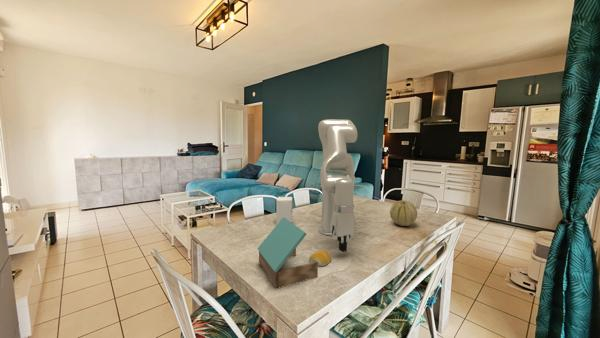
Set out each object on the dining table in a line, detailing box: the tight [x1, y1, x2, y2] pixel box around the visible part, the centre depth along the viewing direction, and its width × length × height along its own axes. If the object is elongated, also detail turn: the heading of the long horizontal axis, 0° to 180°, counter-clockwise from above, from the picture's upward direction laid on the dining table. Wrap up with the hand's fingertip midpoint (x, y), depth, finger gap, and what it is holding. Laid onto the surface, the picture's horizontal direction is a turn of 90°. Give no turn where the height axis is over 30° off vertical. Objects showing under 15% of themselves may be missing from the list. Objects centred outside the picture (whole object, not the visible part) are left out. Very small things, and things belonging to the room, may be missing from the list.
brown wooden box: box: [258, 247, 319, 289], centre depth 93 cm, size 16×19×6 cm
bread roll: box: [308, 250, 332, 267], centre depth 100 cm, size 8×9×4 cm
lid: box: [257, 217, 307, 273], centre depth 90 cm, size 16×19×1 cm
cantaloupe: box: [389, 199, 418, 227], centre depth 142 cm, size 15×15×15 cm
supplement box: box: [275, 196, 293, 225], centre depth 143 cm, size 9×9×15 cm
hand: (342, 250), depth 104 cm, fingers closed
